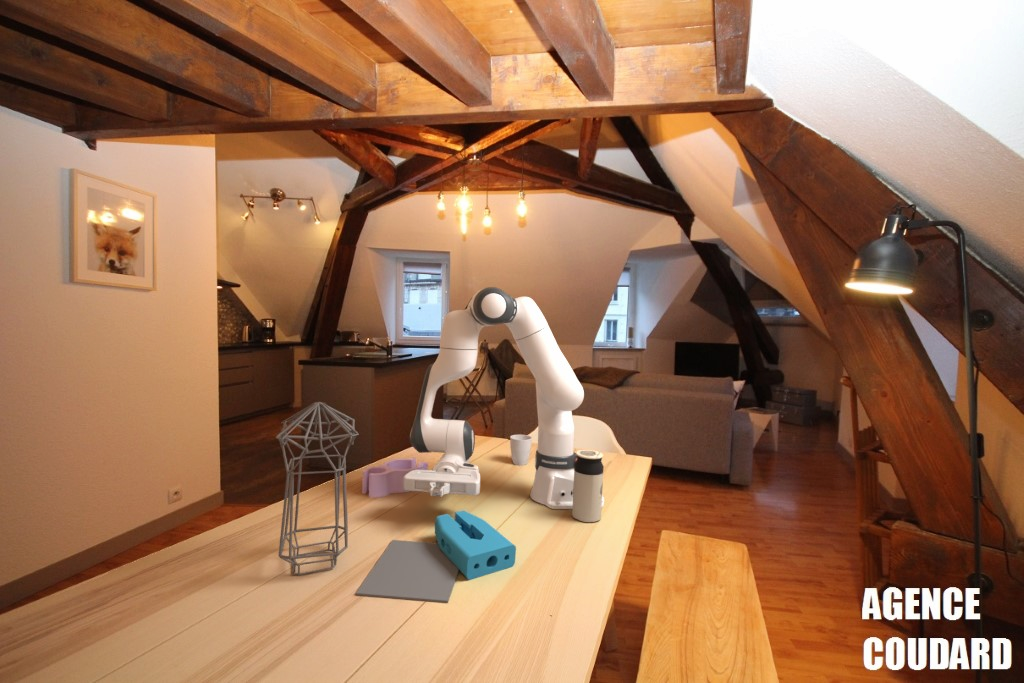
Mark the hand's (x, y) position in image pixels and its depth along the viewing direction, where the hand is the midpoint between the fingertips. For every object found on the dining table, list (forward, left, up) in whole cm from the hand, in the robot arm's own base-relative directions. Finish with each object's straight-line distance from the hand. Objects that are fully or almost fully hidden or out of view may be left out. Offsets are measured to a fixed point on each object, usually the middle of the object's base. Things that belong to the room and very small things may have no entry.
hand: (436, 493), depth 116 cm
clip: (+20, -30, -11) cm, 37 cm away
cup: (-18, -62, -11) cm, 65 cm away
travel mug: (-39, -17, -11) cm, 44 cm away
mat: (0, +16, -10) cm, 19 cm away
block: (-4, 0, -7) cm, 8 cm away
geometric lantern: (+22, +17, -11) cm, 30 cm away
